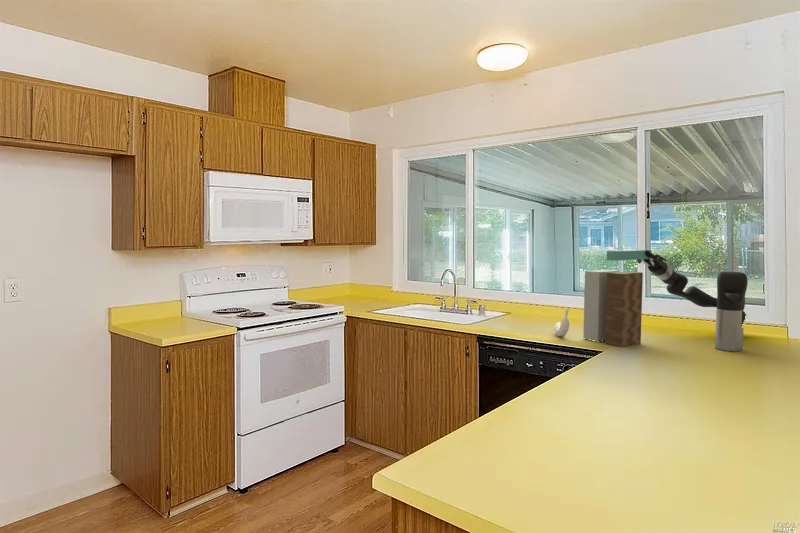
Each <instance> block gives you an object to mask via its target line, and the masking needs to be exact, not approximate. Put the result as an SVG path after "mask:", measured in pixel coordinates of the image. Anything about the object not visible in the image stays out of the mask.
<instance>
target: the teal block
mask: <svg viewBox="0 0 800 533" xmlns="http://www.w3.org/2000/svg"><path fill="white" fill-rule="evenodd" d="M646 250H648V251H649V252H651V253H652V249H630V250H628V249H625V250H607V251H606V261H614V262H616V261H631V260H632V261H634V260H636V261H637V260H638V259H650V258H648V257H647V256H646V255H645V251H646Z"/></svg>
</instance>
